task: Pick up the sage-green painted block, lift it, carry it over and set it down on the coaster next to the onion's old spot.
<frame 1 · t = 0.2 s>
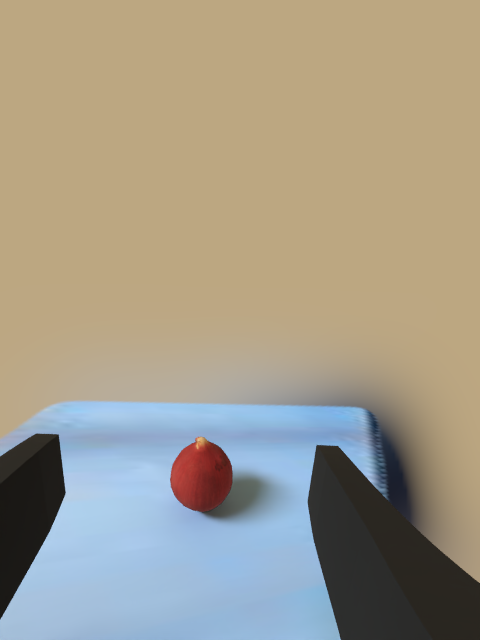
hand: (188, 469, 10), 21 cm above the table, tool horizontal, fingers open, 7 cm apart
onion: (200, 508, 35), on the table
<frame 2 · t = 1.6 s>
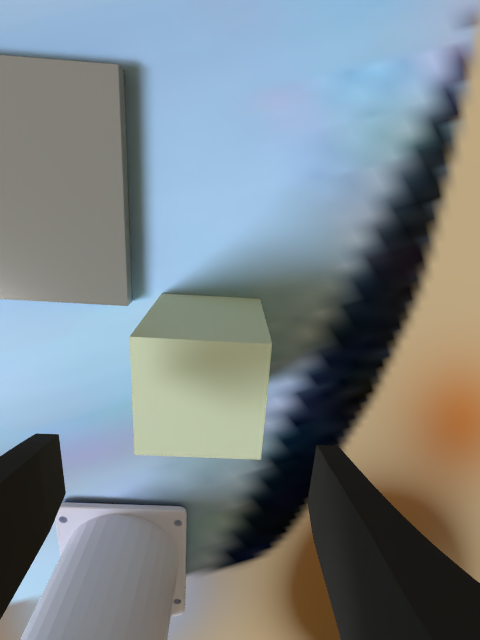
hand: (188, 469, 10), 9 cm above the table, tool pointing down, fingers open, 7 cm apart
coaster: (18, 190, 16), on the table
block: (209, 341, 19), on the table
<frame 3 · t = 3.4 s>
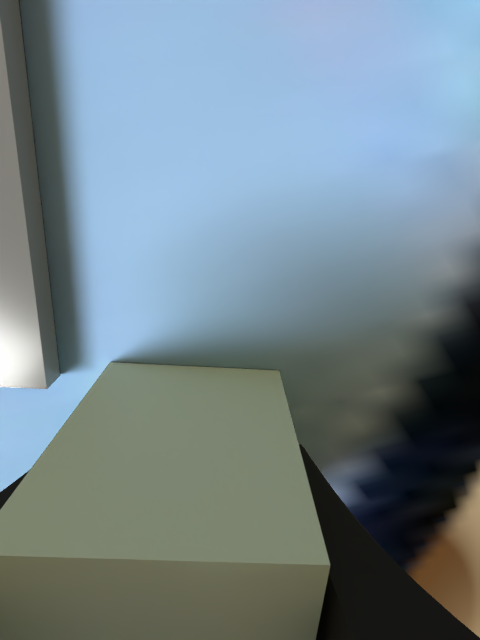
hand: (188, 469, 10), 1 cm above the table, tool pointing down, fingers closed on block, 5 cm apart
block: (193, 437, 11), on the table, touching gripper
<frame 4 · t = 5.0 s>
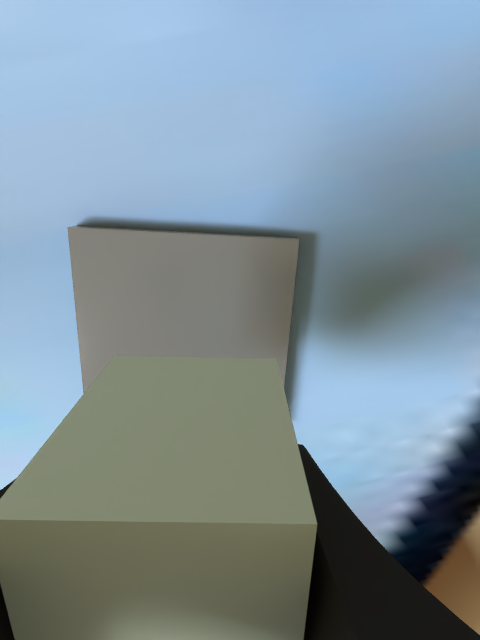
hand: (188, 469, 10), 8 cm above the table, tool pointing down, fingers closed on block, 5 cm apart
coaster: (186, 334, 18), on the table
block: (196, 426, 12), point 7 cm above the table, touching gripper
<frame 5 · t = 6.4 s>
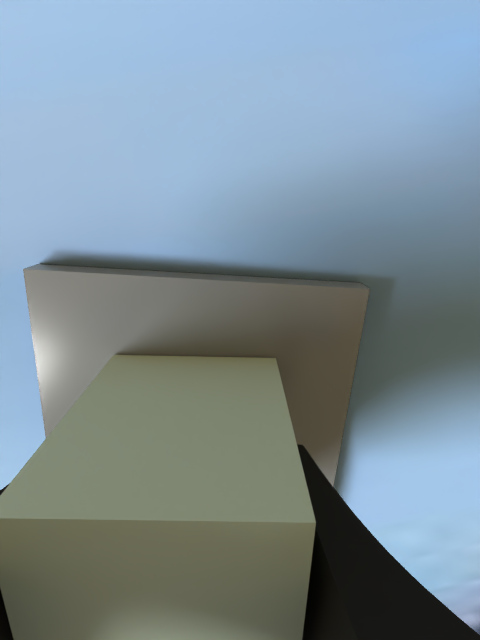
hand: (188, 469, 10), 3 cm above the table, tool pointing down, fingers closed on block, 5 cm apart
coaster: (197, 412, 13), on the table
block: (196, 425, 12), point 1 cm above the table, touching gripper
when the fingers open (3 cm above the table, at t = 7.1 s): block stays where it is, resting on coaster.
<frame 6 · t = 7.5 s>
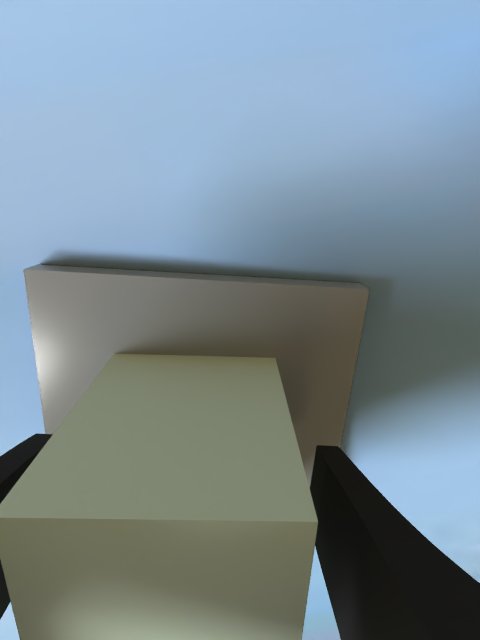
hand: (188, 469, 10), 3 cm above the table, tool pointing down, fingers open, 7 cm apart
coaster: (198, 412, 13), on the table
block: (195, 424, 12), point 1 cm above the table, touching coaster
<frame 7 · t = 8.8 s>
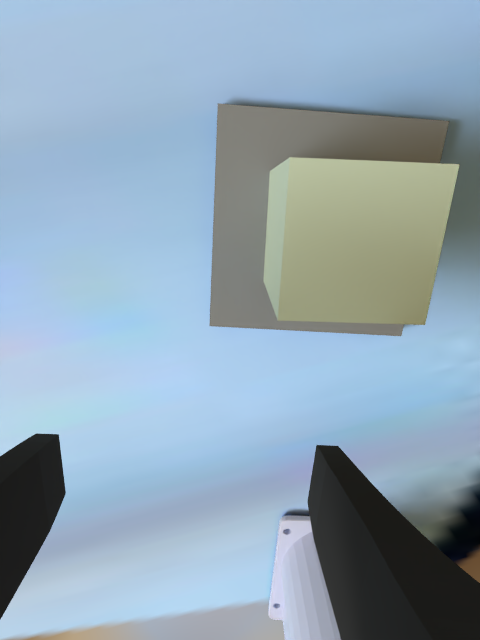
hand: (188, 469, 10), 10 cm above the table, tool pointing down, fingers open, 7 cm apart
coaster: (315, 230, 18), on the table
block: (319, 230, 17), point 1 cm above the table, touching coaster
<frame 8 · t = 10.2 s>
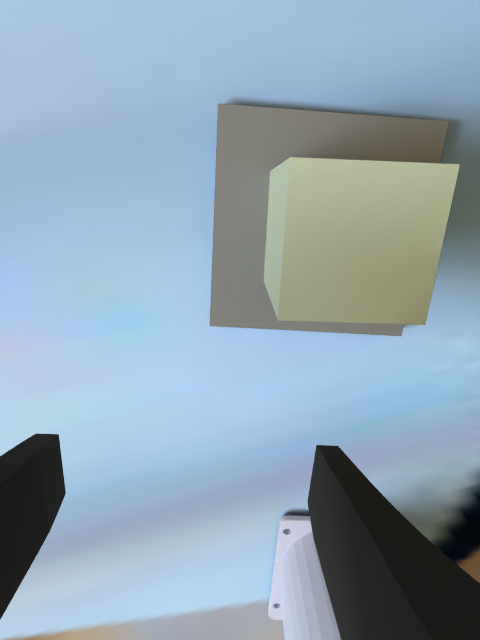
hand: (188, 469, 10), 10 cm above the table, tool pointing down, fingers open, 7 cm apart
coaster: (315, 230, 18), on the table
block: (319, 230, 17), point 1 cm above the table, touching coaster
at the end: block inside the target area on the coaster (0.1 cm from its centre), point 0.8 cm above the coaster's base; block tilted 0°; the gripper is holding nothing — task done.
